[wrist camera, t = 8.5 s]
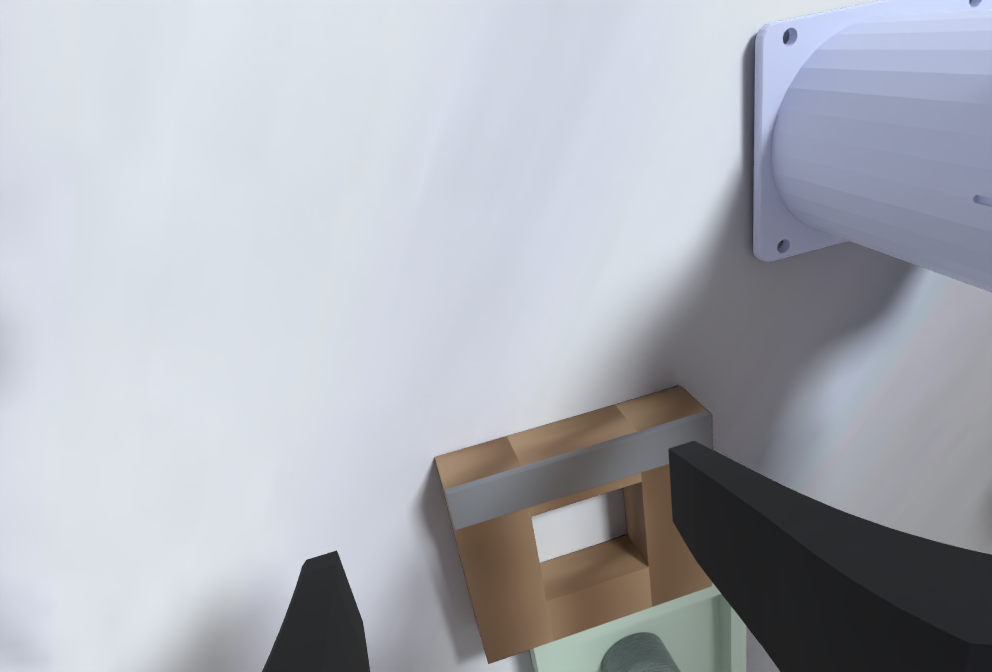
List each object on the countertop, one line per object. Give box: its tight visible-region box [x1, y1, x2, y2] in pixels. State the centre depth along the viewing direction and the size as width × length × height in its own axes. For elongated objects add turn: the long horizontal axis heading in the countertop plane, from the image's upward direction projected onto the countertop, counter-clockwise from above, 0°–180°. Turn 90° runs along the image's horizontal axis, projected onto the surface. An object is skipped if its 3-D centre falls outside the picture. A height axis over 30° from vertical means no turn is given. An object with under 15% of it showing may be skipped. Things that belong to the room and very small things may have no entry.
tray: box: [530, 583, 747, 672], centre depth 31 cm, size 10×10×2 cm
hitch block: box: [435, 386, 713, 664], centre depth 26 cm, size 10×9×2 cm
